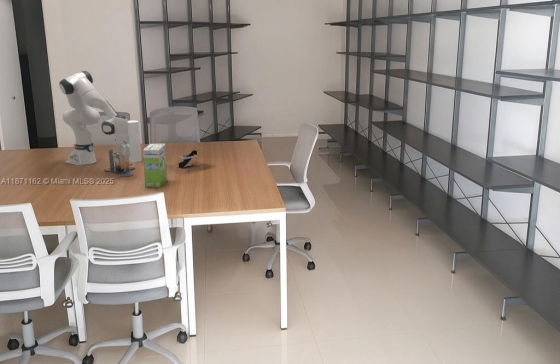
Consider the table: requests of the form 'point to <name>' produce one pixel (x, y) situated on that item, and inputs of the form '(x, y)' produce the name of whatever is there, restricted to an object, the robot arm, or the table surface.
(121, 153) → the robot arm
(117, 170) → the grey ridged piece
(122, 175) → the grey rounded piece
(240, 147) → the table surface
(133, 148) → the cylinder container
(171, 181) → the table surface
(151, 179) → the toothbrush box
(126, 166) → the tan rounded piece
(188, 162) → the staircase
